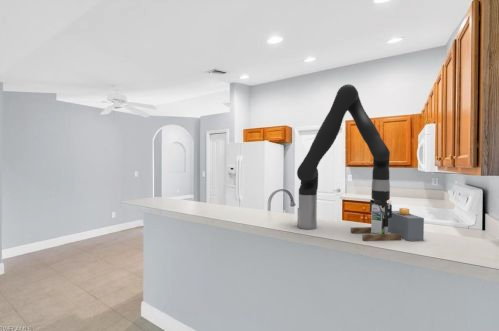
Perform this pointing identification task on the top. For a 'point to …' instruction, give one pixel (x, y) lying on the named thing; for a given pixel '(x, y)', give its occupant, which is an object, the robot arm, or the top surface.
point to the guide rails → (374, 235)
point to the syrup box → (377, 221)
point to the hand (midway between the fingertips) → (380, 224)
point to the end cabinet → (407, 226)
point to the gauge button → (403, 211)
